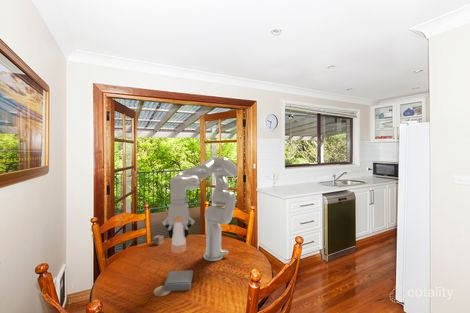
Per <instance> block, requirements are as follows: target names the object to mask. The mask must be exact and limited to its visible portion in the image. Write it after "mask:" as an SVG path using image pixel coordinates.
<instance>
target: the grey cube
mask: <svg viewBox="0 0 470 313" xmlns="http://www.w3.org/2000/svg"><path fill="white" fill-rule="evenodd" d="M164 237H165V236H164V235H161V234H157V235H155V236H154V237H153V242H152V243H153V245H155V246H160V245H162V244H164V243H165V240H164V239H165V238H164Z"/></svg>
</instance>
